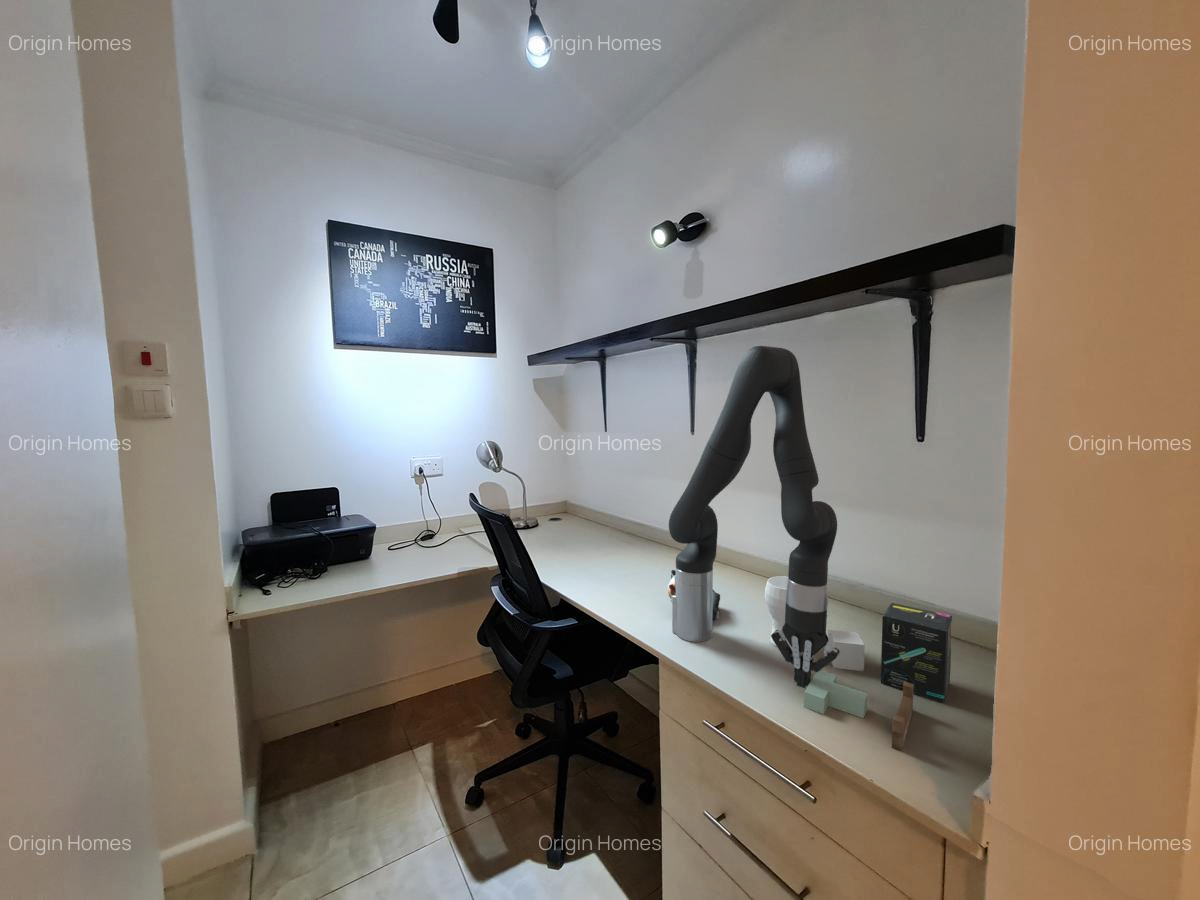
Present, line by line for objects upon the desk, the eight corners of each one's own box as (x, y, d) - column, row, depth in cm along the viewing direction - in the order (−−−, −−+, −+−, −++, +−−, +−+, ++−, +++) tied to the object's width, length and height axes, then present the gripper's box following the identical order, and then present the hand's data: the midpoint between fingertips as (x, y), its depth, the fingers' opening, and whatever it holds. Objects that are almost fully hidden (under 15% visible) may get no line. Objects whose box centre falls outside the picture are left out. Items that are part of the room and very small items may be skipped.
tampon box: (950, 683, 95) (953, 614, 94) (945, 704, 88) (948, 630, 87) (888, 665, 102) (890, 600, 101) (879, 683, 95) (881, 614, 94)
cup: (807, 635, 116) (808, 577, 115) (814, 656, 106) (816, 593, 105) (762, 630, 119) (763, 573, 118) (765, 650, 109) (766, 588, 108)
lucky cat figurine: (718, 628, 121) (693, 584, 118) (677, 636, 126) (653, 594, 124) (725, 592, 133) (703, 552, 131) (688, 601, 139) (667, 563, 137)
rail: (891, 747, 77) (892, 718, 77) (903, 706, 88) (904, 681, 87) (902, 751, 76) (903, 722, 76) (912, 709, 87) (913, 684, 86)
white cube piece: (827, 654, 107) (828, 629, 107) (856, 657, 106) (856, 632, 105) (833, 668, 101) (834, 641, 101) (863, 671, 100) (864, 644, 100)
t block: (803, 706, 88) (804, 691, 88) (817, 683, 96) (818, 669, 95) (860, 727, 82) (860, 711, 82) (870, 700, 90) (870, 685, 89)
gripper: (765, 599, 93) (762, 681, 94) (838, 618, 84) (833, 708, 86) (778, 588, 98) (775, 665, 100) (847, 605, 90) (842, 690, 91)
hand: (802, 685), depth 93 cm, fingers closed
